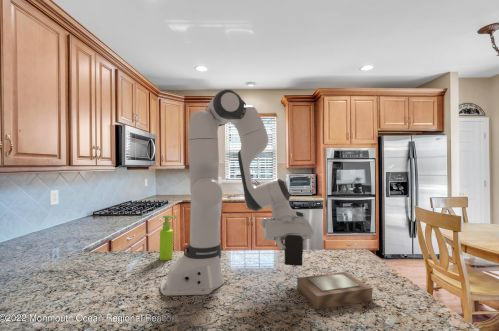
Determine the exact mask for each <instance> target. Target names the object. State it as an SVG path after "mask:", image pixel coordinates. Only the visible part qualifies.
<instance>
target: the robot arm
mask: <svg viewBox="0 0 499 331" xmlns="http://www.w3.org/2000/svg"><path fill="white" fill-rule="evenodd" d="M188 121H189V122H188V129H187V130H188V131H187V132H188V133H187V136H188V137H187V138H188V139H187V142H188V160H189V161H188V162H189V163H188V164H189V185H190V187H189V188H190V190H189V191H190V212H189V213H190V216H189V218H190V219H189V220H190V221H189V244H188V243H186V242H185V243H183V244H182V249H183V255H182V256H180V257H179V258H178V259H177V260H176V261H175V262H173V263H172V264H171V265H170V266H169V268H168V272H167V275H166V276H165V277H164V278H163V279H162V280H161V282H160V287H159V289H160V290H159V291H160V293H161V295H163V296H166V297H167V296H168V297H169V296H195V295H196V296H197V295H198V296H199V295H201V296H203V295H210V294H211V293H212V292H213V291H214V290H216V289H218V288H220V287H222V285H223V284H224V283H225V280H224V276H223V271H222V265H221V258H222V243H221V216H222V207H223V193H224V191H223V188H222V185H221V184H220V183H219V167H220V166H219V164H220V156H219V155H220V154H219V152H220V151H219V135H218V134H219V133H218V132H219V131H218V130H219V127H222V126H225V125H226V124H229V123H230V124H232V125H233V126H234V127H235V129H236V130H237V133H238V136H239V139H240V143H241V144H240V150H238V152H237V159H238V168H239V173H240V178H241V183H242V188H243V194H244V195H243V197H244V203H245V205H246V207H247V209H249V210H251V211H254V212H258V211H261V210H262V209H264V208H266V207H269V208H270V210H271V215H272V217H270V218H269V217H268V218H267V217H266V218H265V217H264V218H263V219H262V220H261V222H260V223H261V226H262V228H263V238H264V239H265V240H266V241H270V242H273V241H274V242H275V244H277V247H279V250H280V251H284V250H285V244H284V243H283V242H282V241H284V238H285V235H286V234H288V233H293V234H300V235H301V236H302V237H303V250H305V249H306V248H307V245H306V241H307V240H310V239H312V237H313V236H314V230H313V227H312V225H311V223H310V221H309V220H308V219H307V218H306V214H305V213H304V212H301V211H298V210H296V209H295V210H294V209H293V208H292V207H291V205H290V198H291V194H290V192H289V190H288V185H287V183H286V182H285V181H284V180H282V179H281V178H275V179H270V180H268V181H266V182H262V183H261V184H258V185H254V184H253V181H252V174H251V170H250V168H251V167H250V166H251V164H252V162H253V161H254V160H255V159H256V158H258V156H259V155H261V154H262V153H263V152H264V151H265V149H266V148H267V147H268V144H269V136H268V133H267V132H268V131H267V130H266V127H265V124H264V120H262V118H261V115H260V113H259V112H258V110H257V109H256V107H255V106H253V105H248V104H246V102H245V101H244V100H243V98H242V97H241V96H240V94H238V93H237V92H236V91H235V90H232V89H223V90H220V91H219V92H217V93H216V94H215V96H214V97H213V98H211V99H210V102H209V103H208V105H207V106H206V108H205V110H197V111H195V112H193V113H192V114H191V115H190V117H189V120H188Z"/></svg>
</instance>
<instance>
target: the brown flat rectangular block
mask: <svg viewBox="0 0 499 331" xmlns="http://www.w3.org/2000/svg"><path fill="white" fill-rule="evenodd" d="M296 280H297V281H296V282H297V283H296V290H297V291H298V292H299V293H300V294H301V295H302V296H303V297H304V298H305V299H306V300H307V301H308V302H309V303H310V304H311V305H312V307H314V308H315V309H316V310H323V309H329V308H336V307H341V306H348V305H355V304H359V303H360V304H361V303H365V302H371V301H373V288H372V287H371V286H370V285H368V284H366V283H364V282H363V281H362V280H360V279H358V278H356V277H355V276H353V275H352V274H350V273H348V272H347V271H343V272H334V273H328V274H327V273H326V274H318V275H316V274H315V275H309V276H299V277H297V278H296Z"/></svg>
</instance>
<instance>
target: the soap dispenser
mask: <svg viewBox="0 0 499 331" xmlns="http://www.w3.org/2000/svg"><path fill="white" fill-rule="evenodd" d="M162 218H164V222H162V229H161V230H159V254H158V255H159V256H158V257H159V260H160V261H169V260H172V259H173V255H174V253H173V252H174V251H173V250H174V249H173V248H174V246H173V244H174V230H173V229H171V222H169V221H170V220H169V219H175V218H176V216H174V215H164V216H162Z"/></svg>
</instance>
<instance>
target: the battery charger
mask: <svg viewBox="0 0 499 331" xmlns="http://www.w3.org/2000/svg"><path fill="white" fill-rule="evenodd" d="M283 244H285V250H283V251H284V254H283V255H284V260H283V261H284V262H283V264H284V265H286V266H296V267H297V266H298V267H299V266H303V256H304V255H303V253H304V249H303V237H302V236H301V235H300V234H293V233H288V234H286V235H285V238H284V240H283Z"/></svg>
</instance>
